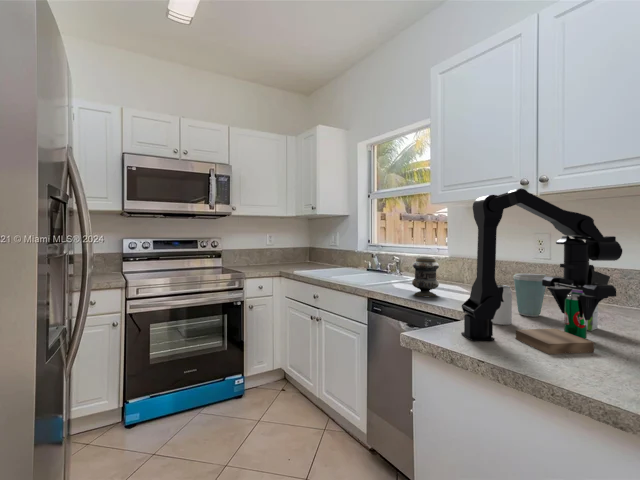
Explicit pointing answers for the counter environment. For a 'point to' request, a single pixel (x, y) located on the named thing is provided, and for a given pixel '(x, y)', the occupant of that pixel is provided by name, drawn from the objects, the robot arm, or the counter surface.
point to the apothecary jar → (425, 275)
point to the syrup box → (593, 321)
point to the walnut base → (554, 341)
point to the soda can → (574, 316)
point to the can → (504, 308)
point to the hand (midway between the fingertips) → (575, 316)
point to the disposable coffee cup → (529, 293)
